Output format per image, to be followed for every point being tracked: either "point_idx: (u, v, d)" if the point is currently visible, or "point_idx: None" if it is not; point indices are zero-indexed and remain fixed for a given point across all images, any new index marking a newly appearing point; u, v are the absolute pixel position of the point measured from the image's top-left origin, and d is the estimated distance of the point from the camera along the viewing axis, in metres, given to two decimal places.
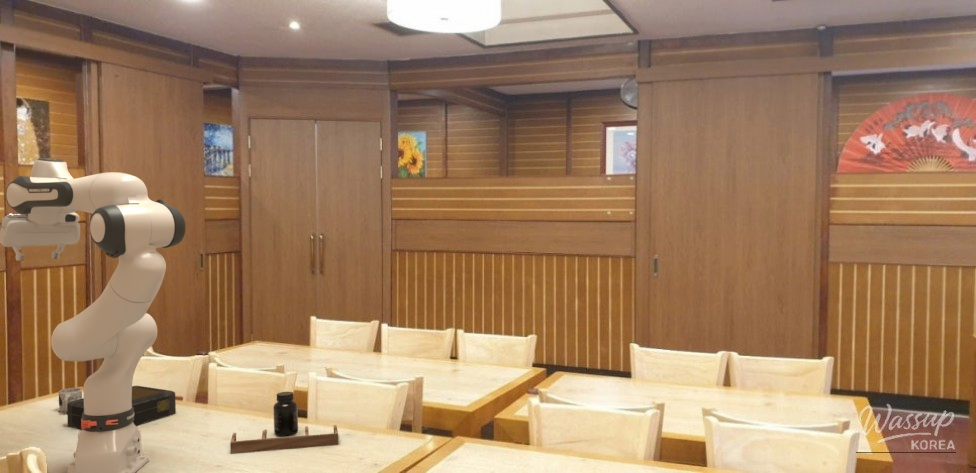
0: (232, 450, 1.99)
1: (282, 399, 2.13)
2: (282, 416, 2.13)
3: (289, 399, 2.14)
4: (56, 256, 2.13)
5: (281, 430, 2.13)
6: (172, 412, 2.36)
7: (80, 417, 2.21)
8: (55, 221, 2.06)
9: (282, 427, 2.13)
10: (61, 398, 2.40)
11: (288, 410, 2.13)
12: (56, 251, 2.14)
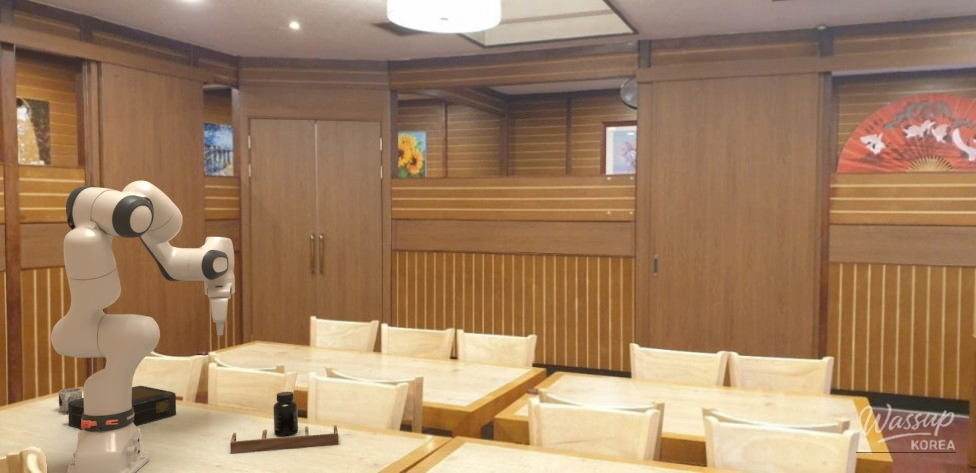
0: (232, 450, 1.99)
1: (282, 399, 2.13)
2: (282, 416, 2.13)
3: (289, 399, 2.14)
4: (217, 332, 2.23)
5: (281, 430, 2.13)
6: (172, 414, 2.35)
7: (79, 416, 2.22)
8: (205, 292, 2.25)
9: (282, 427, 2.13)
10: (61, 398, 2.40)
11: (288, 410, 2.13)
12: None
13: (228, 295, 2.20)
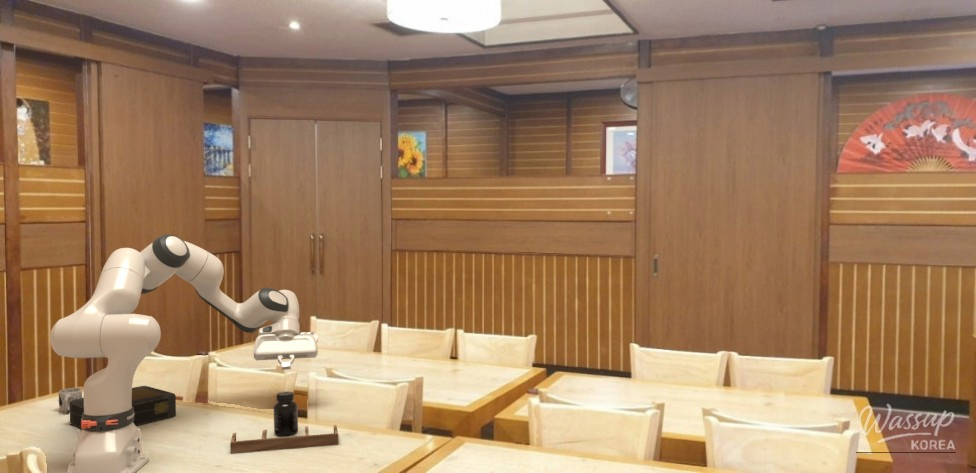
0: (232, 450, 1.99)
1: (282, 399, 2.13)
2: (282, 416, 2.13)
3: (289, 399, 2.14)
4: None
5: (281, 430, 2.13)
6: (171, 415, 2.33)
7: (78, 416, 2.22)
8: None
9: (282, 427, 2.13)
10: (61, 398, 2.40)
11: (288, 410, 2.13)
12: None
13: (259, 333, 2.40)
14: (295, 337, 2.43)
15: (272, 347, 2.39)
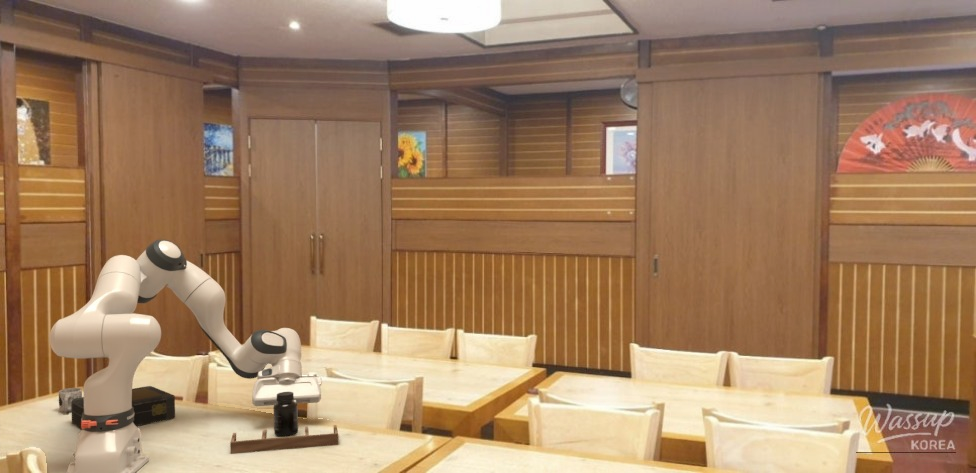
0: (232, 450, 1.99)
1: (282, 399, 2.13)
2: (282, 417, 2.12)
3: (289, 400, 2.14)
4: None
5: (281, 430, 2.13)
6: (170, 417, 2.31)
7: (77, 415, 2.23)
8: None
9: (282, 427, 2.13)
10: (61, 398, 2.40)
11: (288, 410, 2.13)
12: None
13: (258, 376, 2.23)
14: (297, 380, 2.26)
15: (272, 392, 2.22)
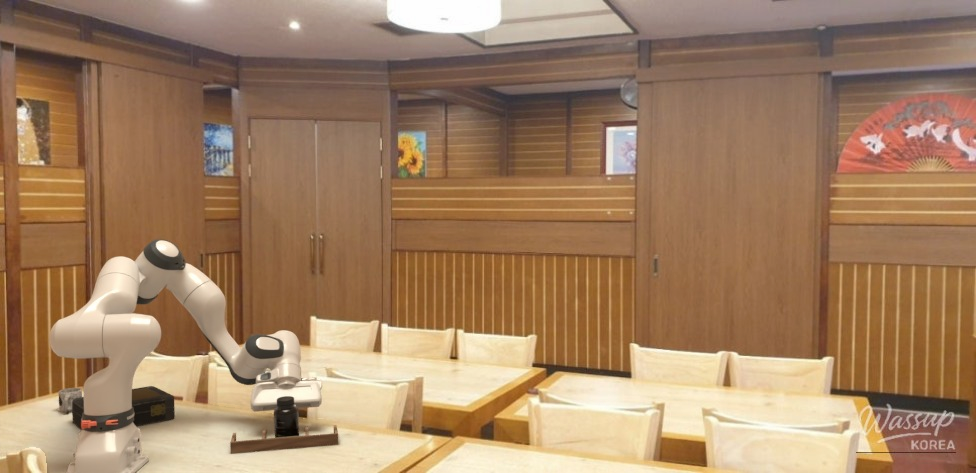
0: (232, 450, 1.99)
1: (284, 405, 2.07)
2: (286, 422, 2.07)
3: (291, 404, 2.08)
4: None
5: (284, 436, 2.07)
6: (169, 417, 2.30)
7: (77, 415, 2.24)
8: None
9: (286, 433, 2.07)
10: (61, 398, 2.40)
11: (291, 415, 2.07)
12: None
13: (256, 380, 2.17)
14: (296, 384, 2.19)
15: (271, 397, 2.15)
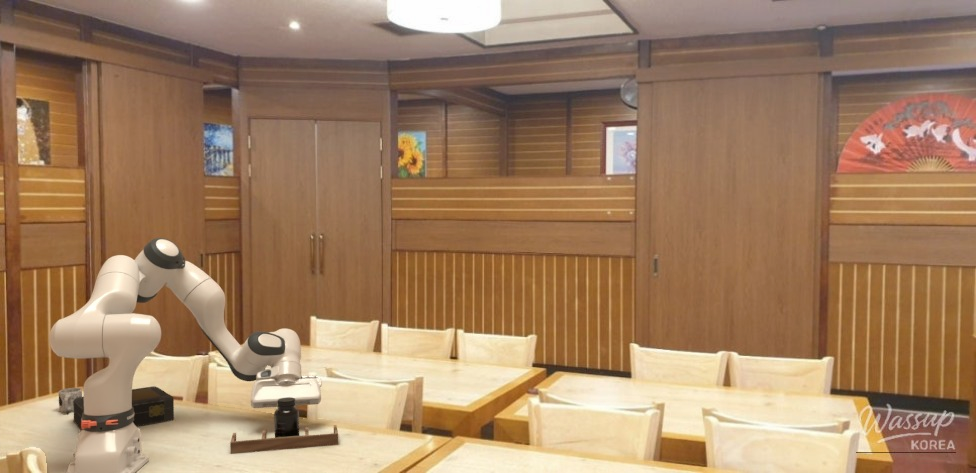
0: (232, 450, 1.99)
1: (285, 405, 2.07)
2: (286, 423, 2.06)
3: (292, 405, 2.08)
4: None
5: None
6: (167, 418, 2.29)
7: (77, 414, 2.24)
8: None
9: (286, 434, 2.06)
10: (61, 398, 2.40)
11: (292, 416, 2.07)
12: None
13: (257, 377, 2.19)
14: (296, 382, 2.21)
15: (271, 394, 2.17)
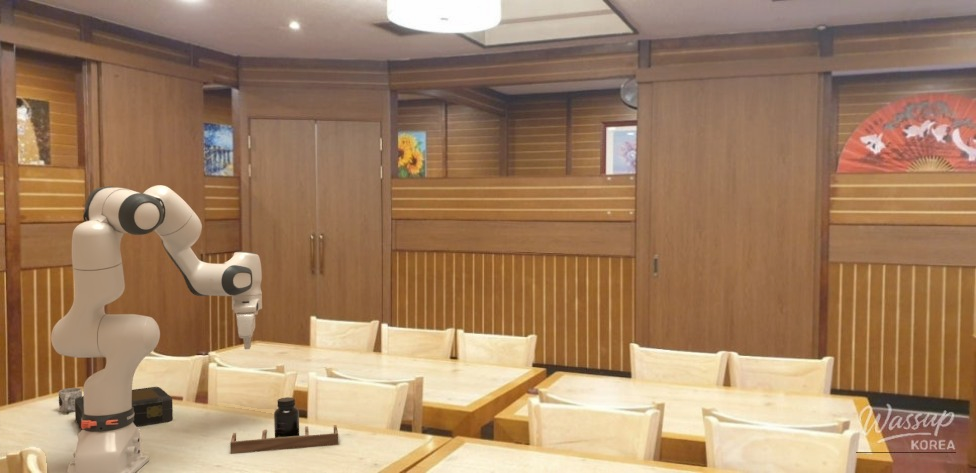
0: (232, 450, 1.99)
1: (285, 405, 2.07)
2: (286, 423, 2.06)
3: (292, 405, 2.08)
4: None
5: None
6: (166, 419, 2.28)
7: (77, 414, 2.25)
8: (232, 308, 2.24)
9: (286, 434, 2.06)
10: (61, 398, 2.40)
11: (292, 416, 2.07)
12: None
13: (254, 311, 2.19)
14: None
15: None
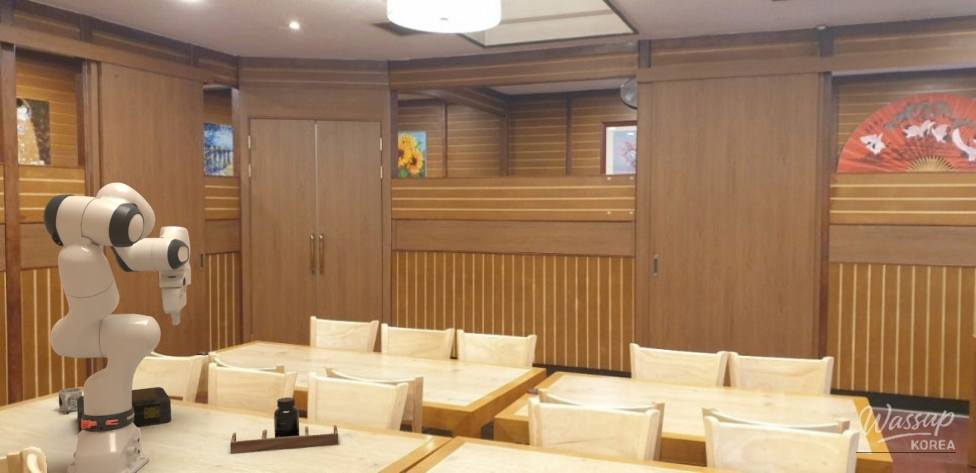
0: (232, 450, 1.99)
1: (285, 405, 2.07)
2: (286, 423, 2.06)
3: (292, 405, 2.08)
4: None
5: None
6: (163, 421, 2.27)
7: None
8: None
9: (286, 435, 2.06)
10: (61, 398, 2.40)
11: (292, 416, 2.06)
12: None
13: (180, 286, 2.16)
14: None
15: (180, 302, 2.20)
